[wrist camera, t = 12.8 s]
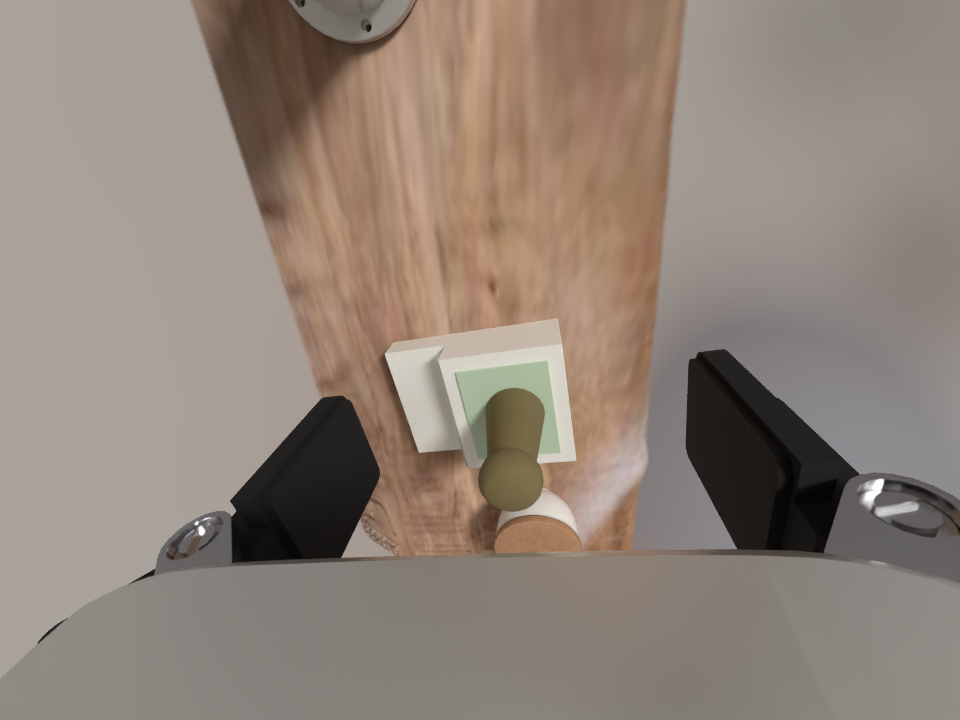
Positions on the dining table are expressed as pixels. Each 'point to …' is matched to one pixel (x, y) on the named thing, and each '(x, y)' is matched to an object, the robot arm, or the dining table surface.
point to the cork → (512, 450)
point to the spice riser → (482, 386)
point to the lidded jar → (538, 528)
